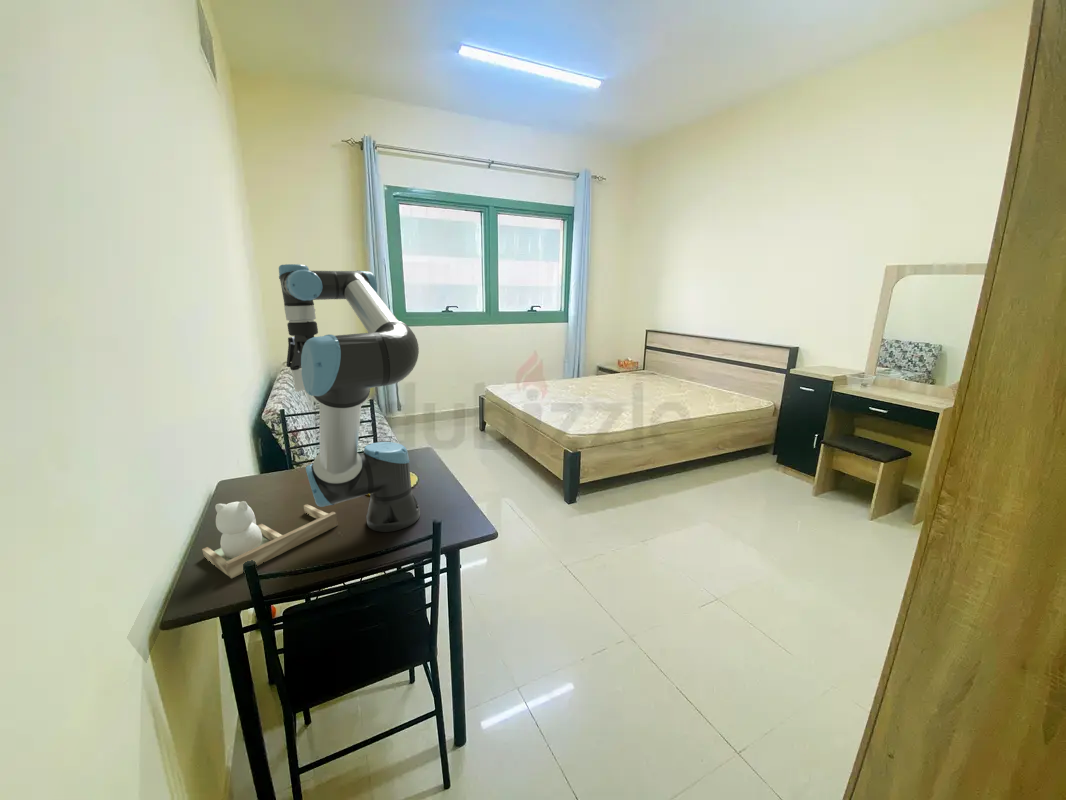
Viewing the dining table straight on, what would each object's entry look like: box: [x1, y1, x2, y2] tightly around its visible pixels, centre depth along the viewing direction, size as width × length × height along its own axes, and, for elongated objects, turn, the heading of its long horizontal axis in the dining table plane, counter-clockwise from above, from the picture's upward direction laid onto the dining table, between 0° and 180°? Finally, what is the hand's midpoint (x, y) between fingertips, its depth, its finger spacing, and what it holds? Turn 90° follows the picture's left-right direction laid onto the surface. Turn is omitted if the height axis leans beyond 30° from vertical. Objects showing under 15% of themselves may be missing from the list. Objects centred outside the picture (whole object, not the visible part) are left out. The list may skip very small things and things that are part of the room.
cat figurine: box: [214, 500, 263, 559], centre depth 110 cm, size 9×12×15 cm
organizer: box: [201, 503, 339, 579], centre depth 116 cm, size 16×28×4 cm, turn 147°
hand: (312, 393), depth 126 cm, fingers open, 13 cm apart
